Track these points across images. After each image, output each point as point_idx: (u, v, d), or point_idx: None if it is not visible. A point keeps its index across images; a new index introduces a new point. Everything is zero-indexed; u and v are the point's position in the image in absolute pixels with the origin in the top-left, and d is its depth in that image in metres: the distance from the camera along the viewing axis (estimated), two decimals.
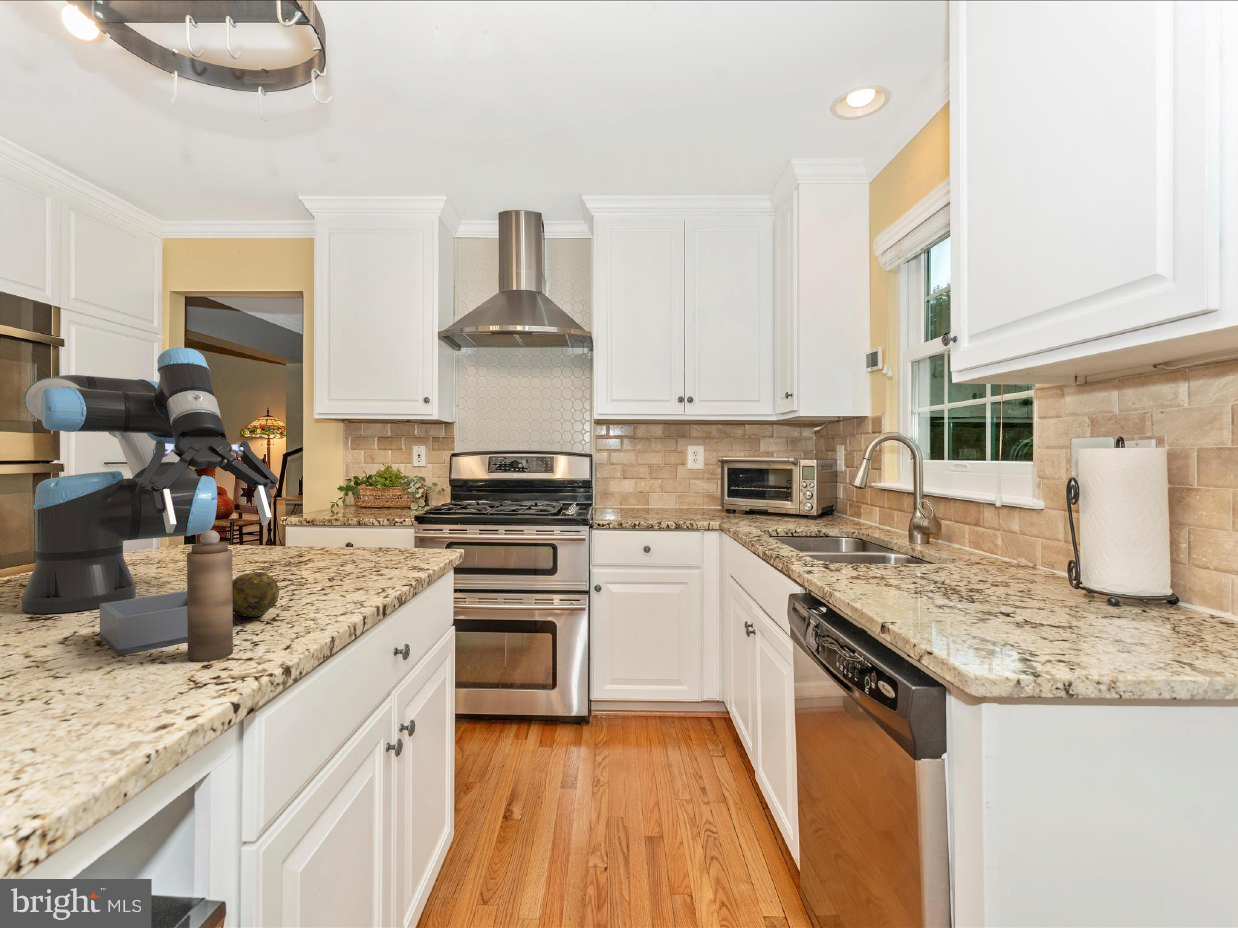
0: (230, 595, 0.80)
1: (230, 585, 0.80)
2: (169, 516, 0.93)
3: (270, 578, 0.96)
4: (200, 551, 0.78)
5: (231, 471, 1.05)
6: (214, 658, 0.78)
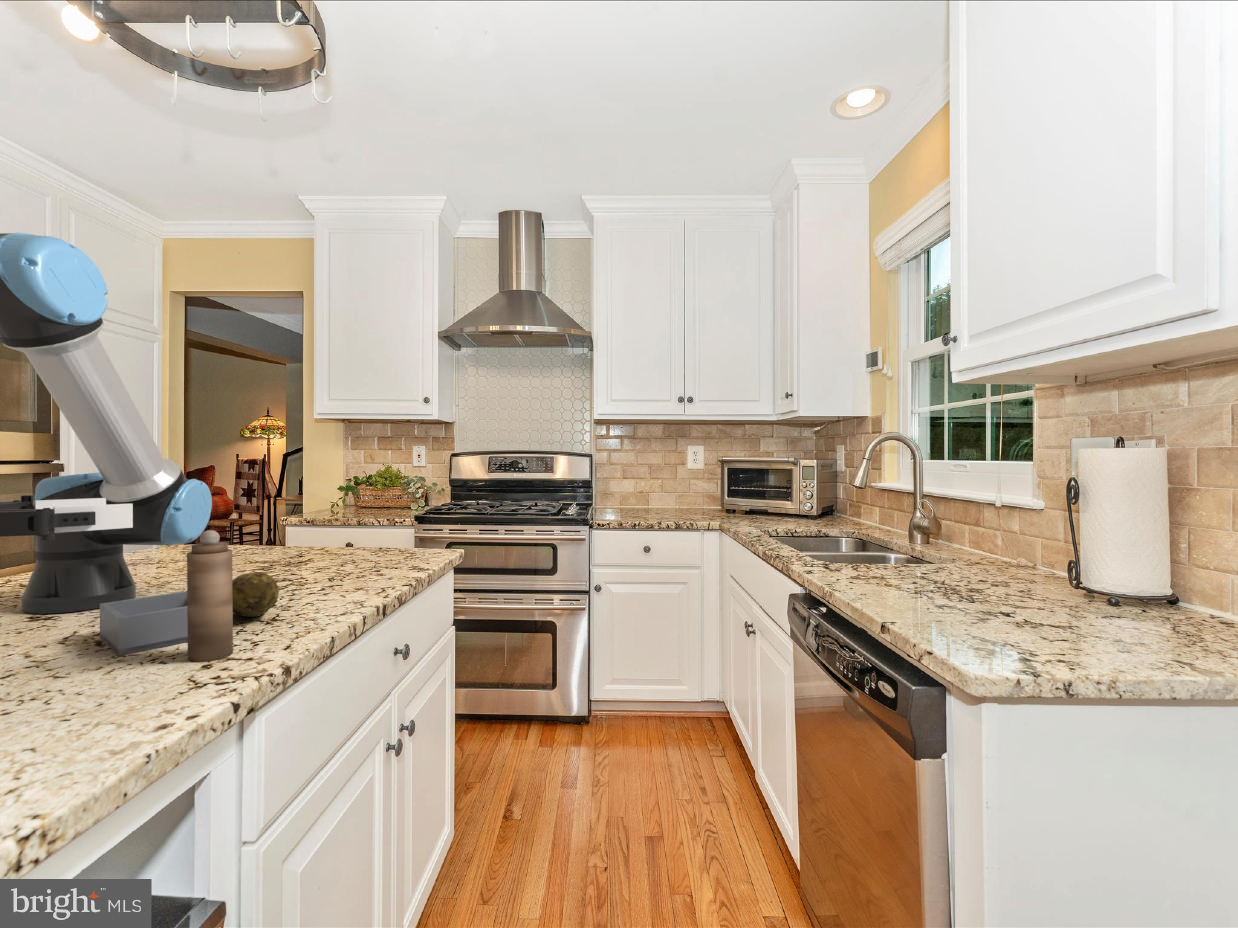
0: (230, 595, 0.80)
1: (230, 585, 0.80)
2: None
3: (270, 578, 0.96)
4: (200, 551, 0.78)
5: None
6: (214, 658, 0.78)
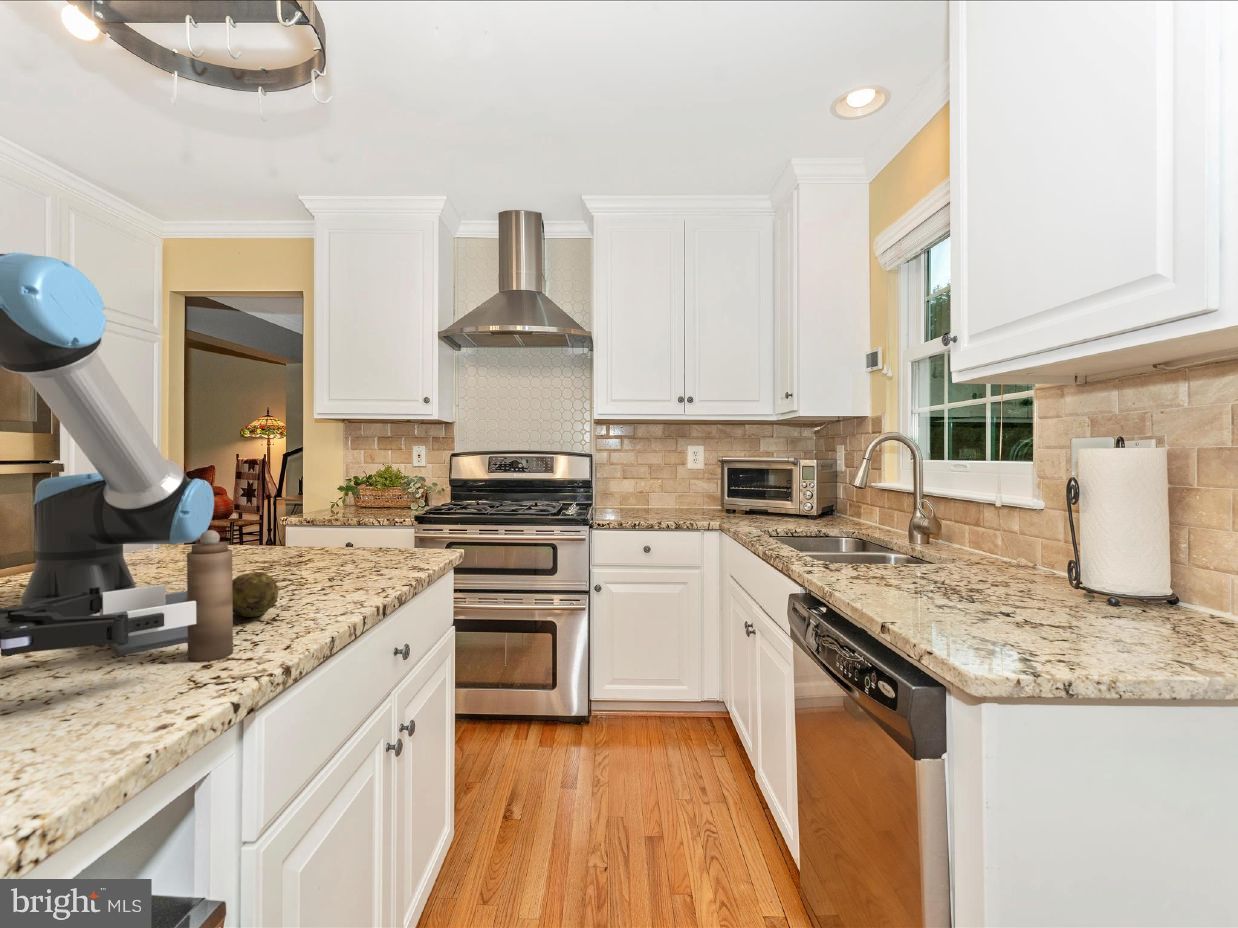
0: (230, 595, 0.80)
1: (230, 585, 0.80)
2: None
3: (269, 578, 0.96)
4: (200, 551, 0.78)
5: None
6: (214, 658, 0.78)
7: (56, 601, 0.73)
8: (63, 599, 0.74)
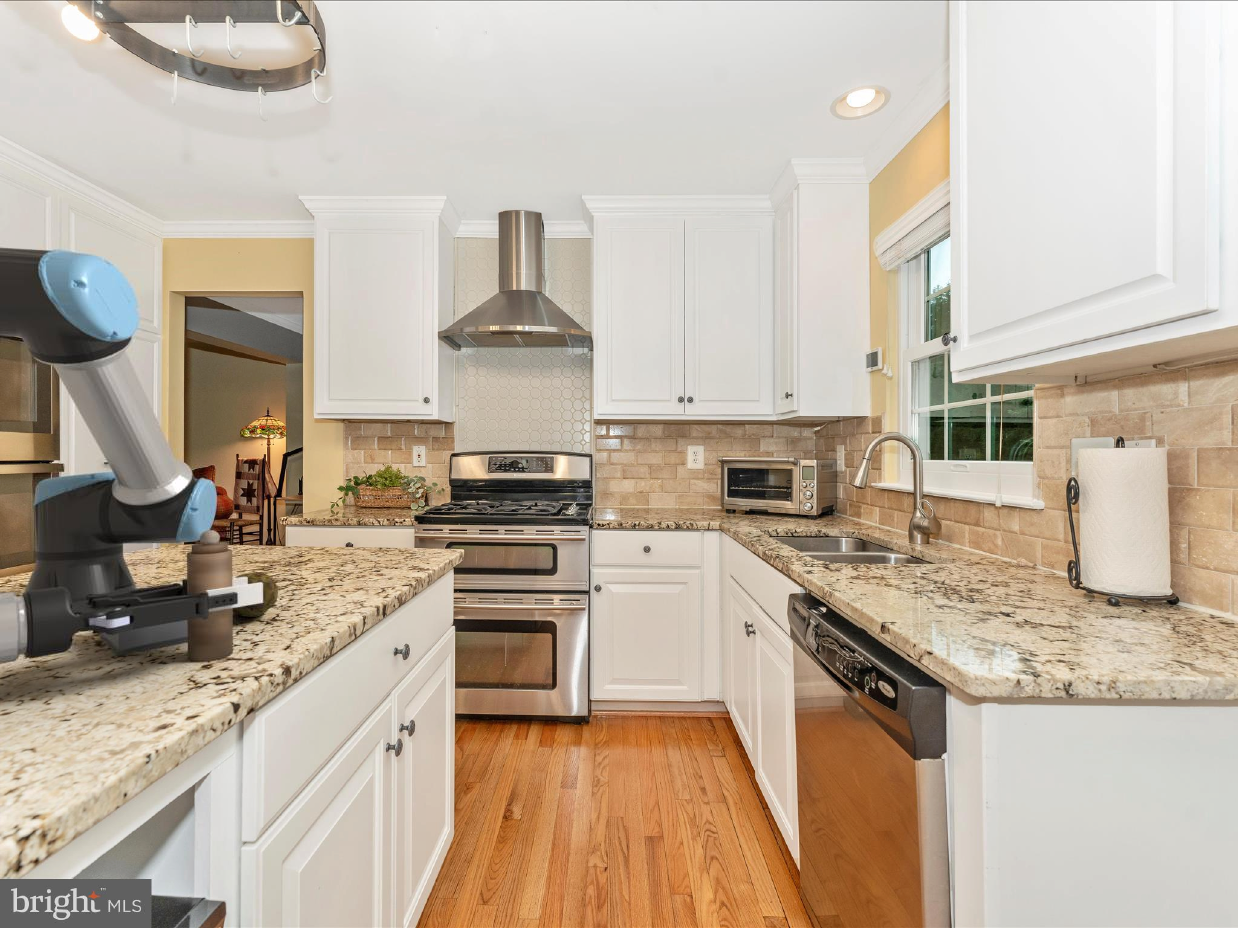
0: None
1: (230, 585, 0.80)
2: None
3: (269, 578, 0.96)
4: (200, 551, 0.78)
5: None
6: (214, 658, 0.78)
7: (143, 591, 0.78)
8: (151, 589, 0.79)
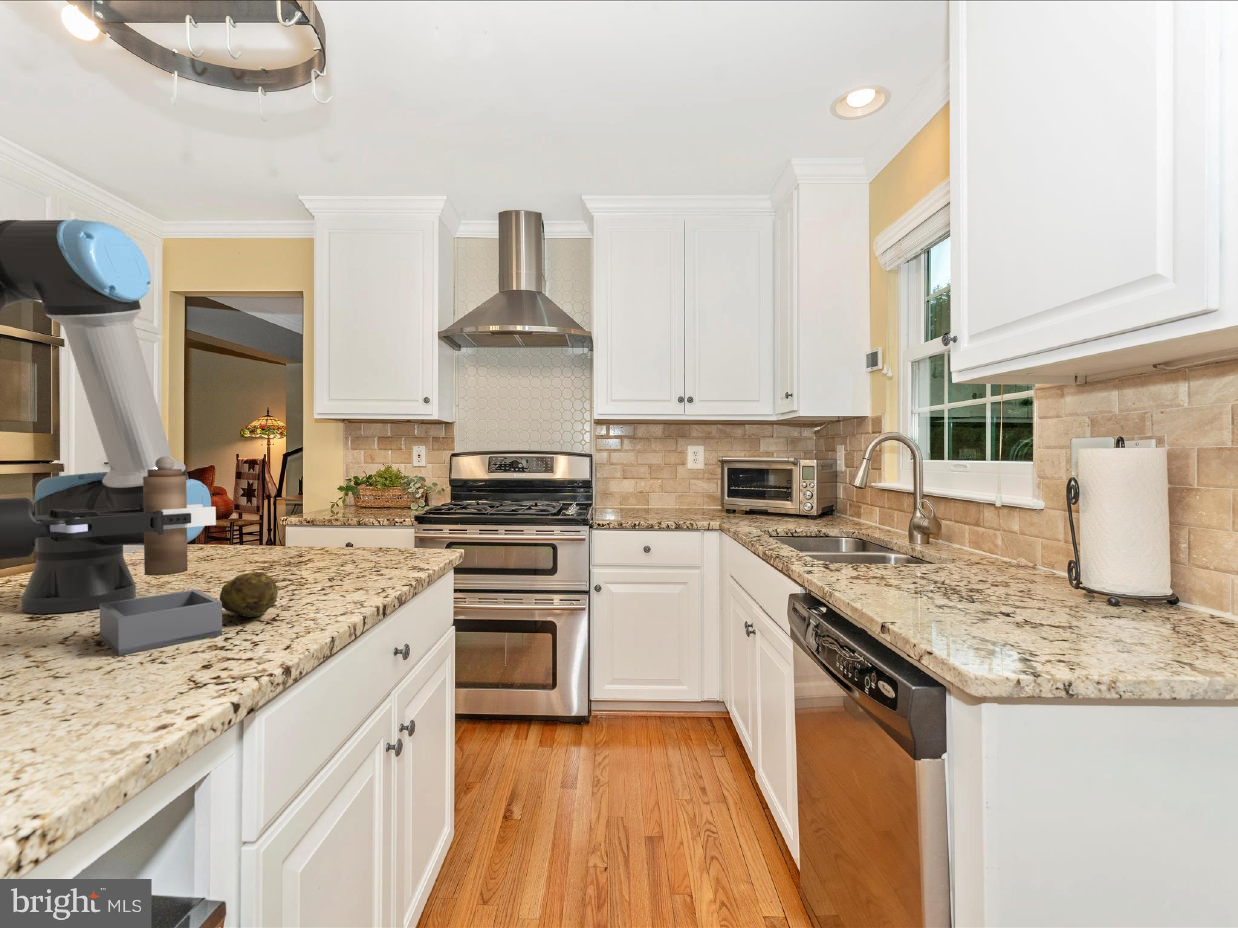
0: None
1: (184, 507, 0.87)
2: None
3: (269, 578, 0.96)
4: (155, 474, 0.85)
5: None
6: (169, 573, 0.85)
7: None
8: (110, 510, 0.86)
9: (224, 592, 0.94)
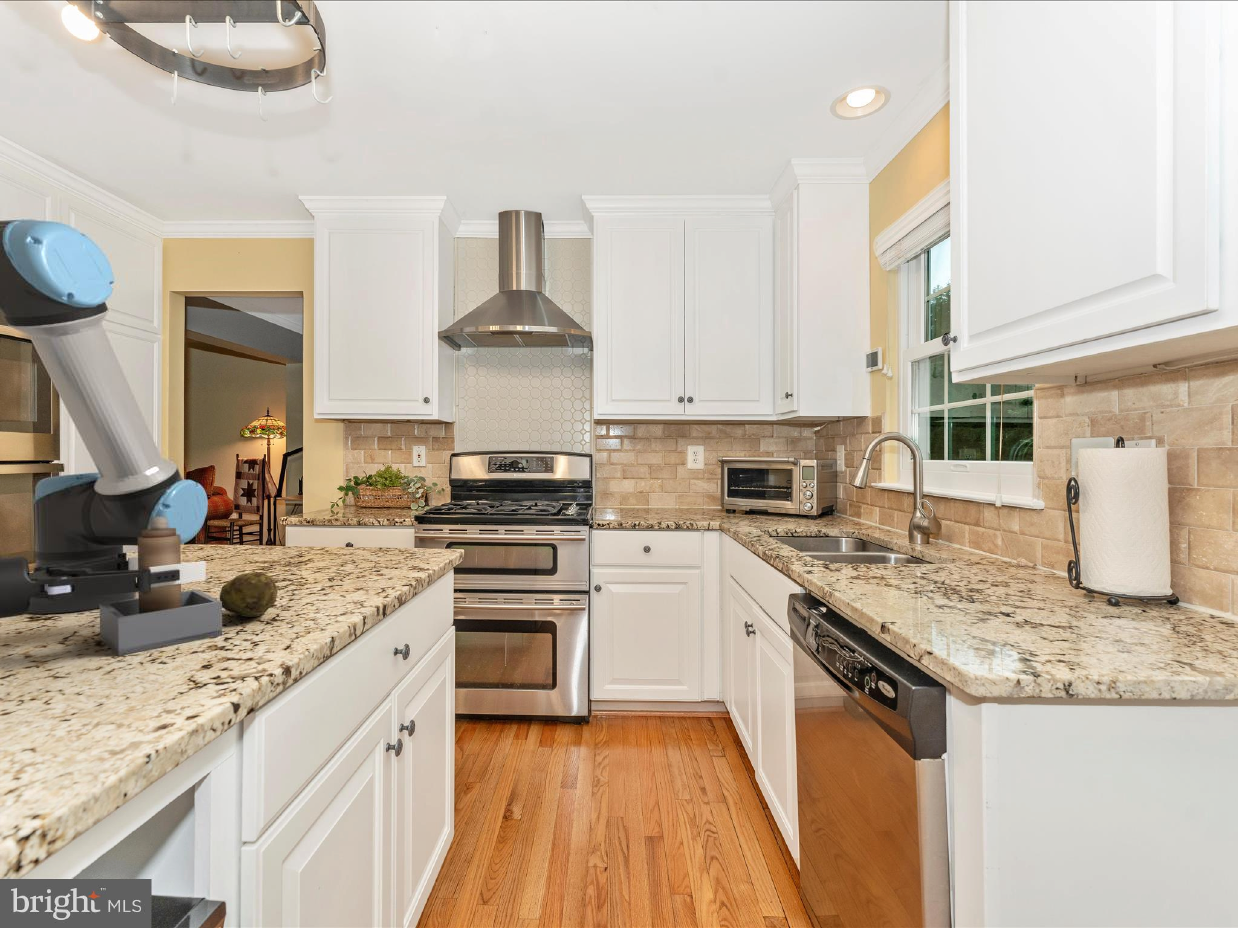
0: None
1: None
2: None
3: (268, 578, 0.96)
4: (149, 535, 0.86)
5: None
6: None
7: (88, 563, 0.87)
8: (94, 562, 0.88)
9: (224, 592, 0.94)
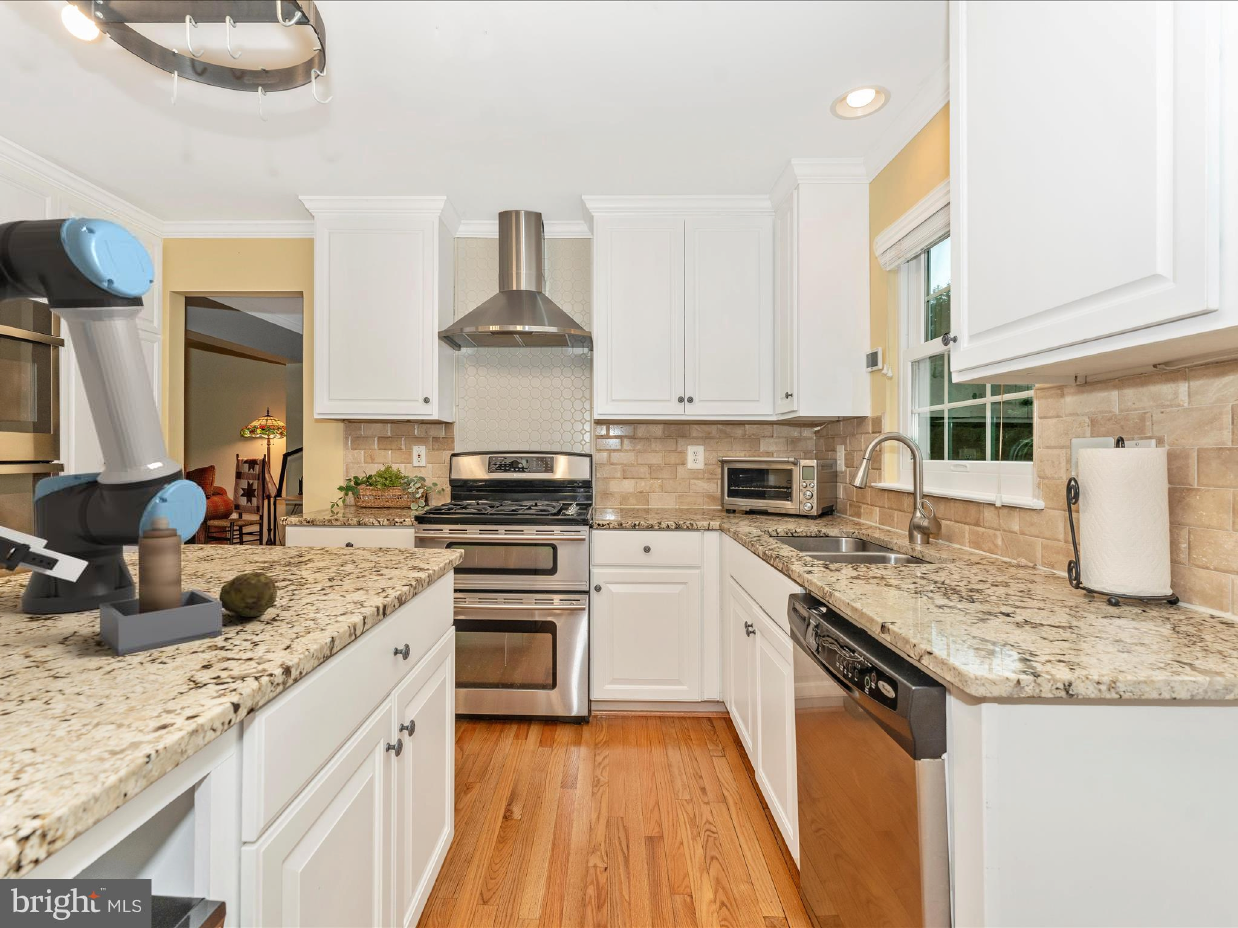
0: (179, 576, 0.88)
1: (179, 567, 0.88)
2: None
3: (268, 578, 0.96)
4: (150, 536, 0.86)
5: None
6: None
7: None
8: None
9: (223, 592, 0.94)
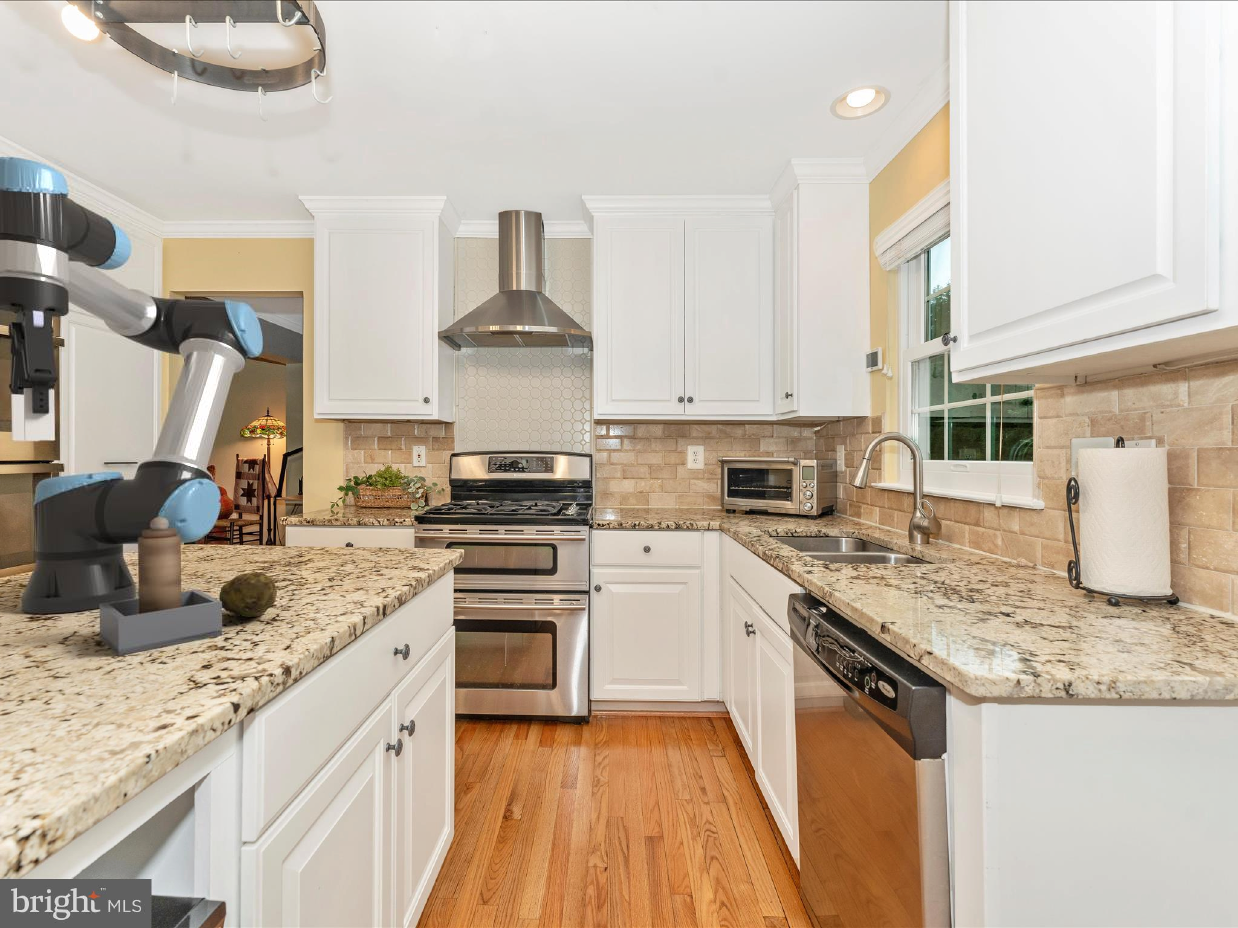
0: (179, 576, 0.88)
1: (178, 567, 0.88)
2: None
3: (267, 578, 0.96)
4: (149, 536, 0.86)
5: None
6: None
7: None
8: None
9: (223, 592, 0.94)
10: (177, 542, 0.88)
